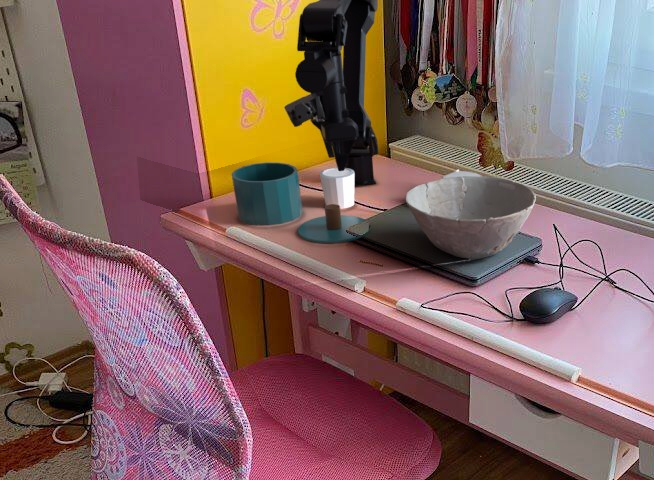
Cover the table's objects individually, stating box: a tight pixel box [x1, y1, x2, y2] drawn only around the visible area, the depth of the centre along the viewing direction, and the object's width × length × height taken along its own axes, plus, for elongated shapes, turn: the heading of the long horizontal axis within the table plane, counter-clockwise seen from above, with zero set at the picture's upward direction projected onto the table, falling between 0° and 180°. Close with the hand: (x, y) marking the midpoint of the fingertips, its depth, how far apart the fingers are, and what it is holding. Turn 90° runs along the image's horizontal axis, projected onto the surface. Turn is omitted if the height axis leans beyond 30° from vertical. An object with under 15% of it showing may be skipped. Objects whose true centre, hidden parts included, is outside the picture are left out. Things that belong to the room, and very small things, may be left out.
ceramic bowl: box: [405, 175, 537, 260], centre depth 150 cm, size 22×23×10 cm
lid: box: [297, 204, 371, 244], centre depth 159 cm, size 13×13×5 cm
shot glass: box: [319, 167, 355, 210], centre depth 171 cm, size 7×7×7 cm
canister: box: [231, 162, 304, 227], centre depth 166 cm, size 12×12×9 cm
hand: (336, 164), depth 168 cm, fingers open, 9 cm apart
